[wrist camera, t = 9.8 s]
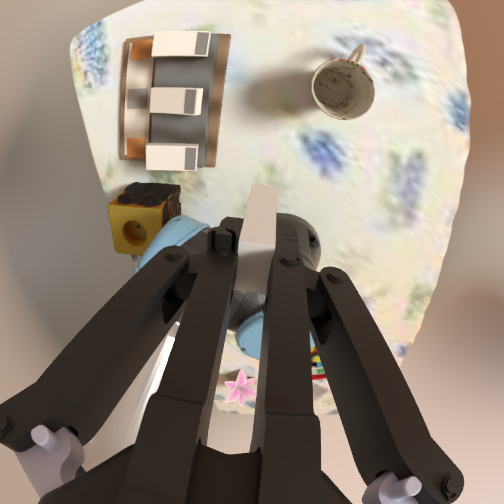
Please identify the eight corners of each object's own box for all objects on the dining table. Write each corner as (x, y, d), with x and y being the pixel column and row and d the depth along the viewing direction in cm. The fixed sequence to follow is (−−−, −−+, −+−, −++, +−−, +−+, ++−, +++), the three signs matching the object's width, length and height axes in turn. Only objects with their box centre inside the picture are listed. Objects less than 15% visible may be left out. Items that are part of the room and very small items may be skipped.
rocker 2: (197, 166, 43) (196, 171, 41) (149, 165, 41) (146, 170, 39) (199, 143, 40) (197, 146, 38) (149, 141, 39) (145, 145, 37)
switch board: (215, 165, 46) (210, 171, 43) (123, 157, 45) (114, 163, 43) (231, 35, 33) (227, 31, 30) (129, 39, 32) (119, 37, 30)
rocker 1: (207, 57, 33) (207, 56, 30) (154, 57, 31) (151, 56, 29) (211, 34, 30) (210, 31, 28) (157, 34, 29) (154, 31, 27)
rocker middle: (203, 114, 36) (194, 115, 34) (158, 110, 38) (149, 112, 36) (205, 88, 34) (197, 88, 32) (160, 87, 35) (150, 87, 33)
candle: (181, 184, 48) (161, 207, 40) (182, 231, 54) (165, 261, 46) (132, 180, 48) (106, 202, 40) (136, 226, 54) (114, 253, 46)
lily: (260, 384, 87) (266, 400, 77) (229, 397, 86) (233, 414, 76) (246, 358, 84) (251, 374, 75) (214, 372, 83) (215, 389, 74)
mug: (295, 98, 38) (300, 101, 30) (327, 35, 31) (340, 22, 23) (341, 121, 39) (358, 131, 31) (373, 60, 32) (397, 56, 24)
